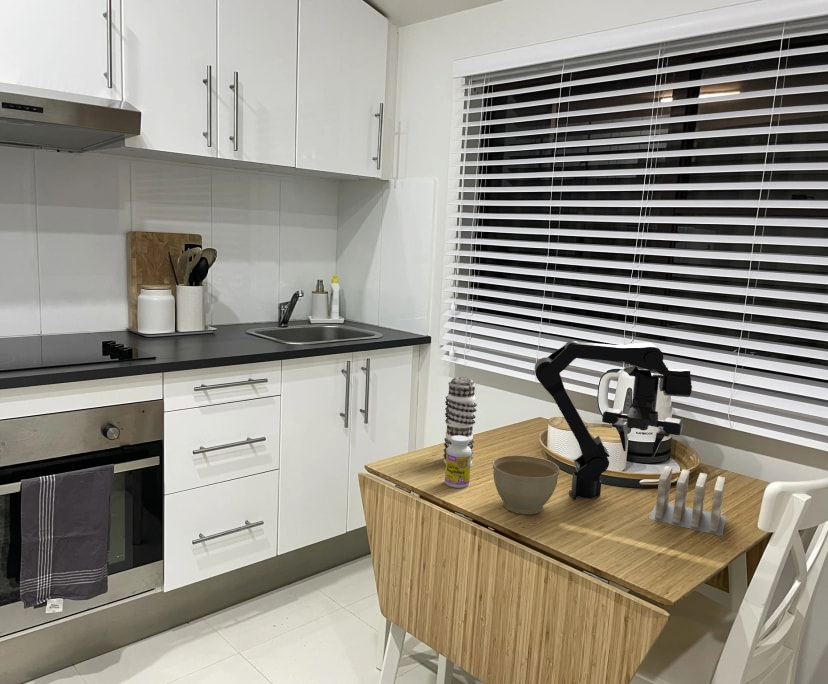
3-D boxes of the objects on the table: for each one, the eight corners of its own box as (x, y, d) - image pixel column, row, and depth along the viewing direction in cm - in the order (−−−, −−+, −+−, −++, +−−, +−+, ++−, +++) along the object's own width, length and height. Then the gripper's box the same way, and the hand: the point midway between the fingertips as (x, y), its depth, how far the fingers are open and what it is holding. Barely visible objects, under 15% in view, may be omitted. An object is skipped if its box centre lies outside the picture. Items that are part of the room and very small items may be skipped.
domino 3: (690, 526, 153) (695, 485, 152) (695, 511, 162) (700, 472, 160) (698, 527, 152) (703, 487, 151) (702, 512, 161) (707, 474, 159)
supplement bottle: (441, 486, 174) (443, 439, 172) (449, 477, 180) (451, 432, 178) (465, 490, 171) (467, 443, 169) (472, 482, 177) (475, 436, 175)
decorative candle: (435, 460, 193) (439, 377, 189) (459, 454, 199) (464, 374, 195) (455, 469, 186) (460, 383, 182) (479, 464, 192) (484, 380, 188)
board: (648, 522, 156) (648, 518, 156) (657, 504, 168) (657, 500, 168) (721, 540, 149) (722, 535, 149) (725, 519, 160) (726, 515, 160)
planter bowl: (568, 509, 162) (572, 467, 161) (530, 527, 151) (533, 482, 149) (516, 489, 174) (519, 450, 172) (476, 505, 162) (479, 463, 161)
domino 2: (672, 521, 155) (677, 481, 153) (678, 507, 164) (682, 469, 162) (679, 523, 154) (684, 483, 153) (685, 508, 163) (689, 470, 161)
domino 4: (709, 530, 151) (714, 489, 150) (713, 515, 160) (718, 476, 158) (716, 532, 151) (722, 490, 149) (720, 516, 159) (725, 477, 158)
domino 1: (654, 517, 157) (659, 478, 155) (661, 503, 166) (665, 465, 164) (661, 519, 156) (666, 479, 155) (668, 505, 165) (672, 467, 163)
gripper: (599, 394, 161) (594, 455, 164) (680, 406, 152) (673, 470, 155) (609, 386, 171) (604, 443, 173) (686, 397, 162) (679, 457, 165)
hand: (638, 453), depth 166 cm, fingers open, 7 cm apart
